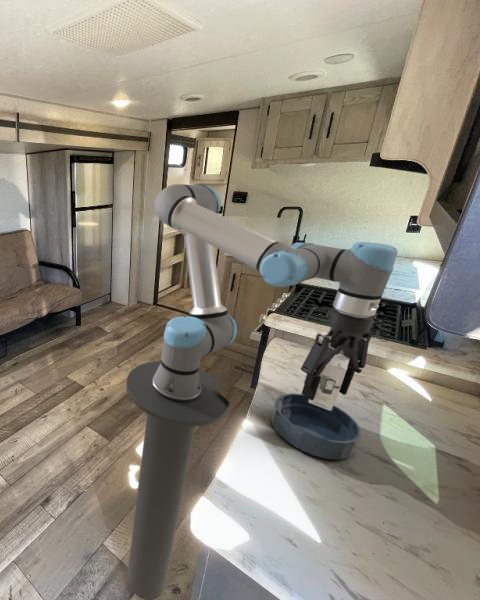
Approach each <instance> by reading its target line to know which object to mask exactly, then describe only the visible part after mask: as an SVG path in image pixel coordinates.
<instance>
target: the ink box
mask: <svg viewBox="0 0 480 600" xmlns="http://www.w3.org/2000/svg"><path fill="white" fill-rule="evenodd" d="M349 360H350V358H348V357H346V356H344V355H343V354H341V353H339V354H338V355H335V356H334V357H333V358H332V359H331V361H330V362H329V363H328V364H327V365H326V366H325V368H324V370H323V371H322V372H321V373H320V375H319V376H320V377H321V379H320V382H319V385H318V388H317V391H316V394H315V397H314V400H310V399H309V403H311V404H314V405H316V406H319V407H322V408H324V409H327V410H329V411H332V408H333V406H335V403H336V401H337V398H338V395H339V393H340V392H339V390H340V387H341V385H342V382H343V379H344V376H345V373H346V370H347V367H348V363H349Z"/></svg>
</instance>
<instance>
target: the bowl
mask: <svg viewBox="0 0 480 600" xmlns="http://www.w3.org/2000/svg"><path fill="white" fill-rule="evenodd" d="M270 421H271V422H270V423H271V426H272V427H273V428H274V430H275V432H276V433H277V434H278V435H279V436H280V437H281V438H283V439H284V440H285V441H286V442H287V443H289V444H290V445H292V446H293V447H295V448H296V449H298V450H301V451H302V452H304V453H307V454H309V455H311V456H315V457H318V458H322V459H325V460H335V461H340V460H345V459H348V458H350V457H351V456H352V455H353V454H354V453H355V450H356V448H357V445H358V444H359V441H360V440H361V436H362V435H361V434H362V429H361V428H360V426H359V424H358V422H357V421H356V420H355V419H354V418H353V417H352V416H351V415H350V414H348V413H347V412H346V411H344V410H343V409H341V408H340V407H339V406H336V405H334V406H333V408H332V411H329V410H327V409H324V408H322V407H319V406H316V405H314V404H311V403H309V398H307V397H306V396H304V395H303V394H302V393H292V392H291V393H286V394H285V393H284V394H281V395H280V396H278V397H277V398H276V400H275V402H274V405H273V409H272V412H271V415H270Z"/></svg>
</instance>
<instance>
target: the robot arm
mask: <svg viewBox="0 0 480 600" xmlns="http://www.w3.org/2000/svg"><path fill="white" fill-rule="evenodd" d="M221 208H222V200H221V197H220V194H219V193H218V191H217V190H216V189H215V188H213V187H212V186H210V185H207V184H203V183H202V184H201V183H196V184H181V183H176V184H170V185H168V186H166V187H165V188H163V189H161V191H160V192H159V193H158V195H157V197H156V199H155V202H154V210H155V214H156V216H157V218H158V219H159V220H160V221H161V222H162V224H164V225H166V226H168V227H170V228H172V229H173V230H175V231H178V232H179V233H180V234H181V235H182V236H183V240H184V248H185V255H186V262H187V269H188V270H187V271H188V278H189V285H190V292H191V298H192V299H191V300H192V308H191V310H190V311H189V313H188V314H189V316H188V315H186V316H183V315H182V316H181V315H180V316H176V317H173V318H171V319H169V320H168V321H167V323H166V325H165V329H164V332H163V342H162V349H161V357H160V358H161V359H160V361H161V364H160V366H159V367H158V369H157V371H156V373H155V375H154V377H153V382H152V385H153V388H154V390H155V391H156V392H157V393H158V394H159V395H161V396H162V397H164V398H166V399H168V400H171V401H175V402H191V401H194V400H196V399H198V398H199V397H200V394H201V389H202V388H201V382H200V377H199V369H200V366H201V359H202V357H205V356H207V355H210V354H212V353H214V352H217V351H219V350H223V349H225V348H227V346H229V345H231V344H232V343H233V342H234V341H235V339H236V337H237V334H238V327H237V323H236V321H235V319H234V318H233V317H232V315H230V314H229V313H228V308H227V307H226V306H224V305H223V304H222V300H221V293H220V284H219V276H218V268H217V261H216V253H215V248H216V249H218V250H220V251H221V252H223V253H225V254H226V255H228V256H230V257H233V258H234V259H235V260H238V261H240V262H242V263H243V264H245V265H247V266H249V267H251V268H253V269H254V270H256V271H258V272H259V273H260V276H261V278H262V279H263V281H264V282H265V283H266V284H268V285H270V286H273V287H277V288H283V287H290V286H295V285H297V284H299V283H301V282H305V281H308V280H312V279H314V278H317V279H321V280H326V281H330V282H334V283H339V286H338V288H337V292H336V295H335V297H334V300H333V304H332V307H333V308H332V309H331V310H330V314H329V316H328V318H327V319H328V320H327V323H328V325H329V326H330V329H329V331H328V332H327V334H321V333H317V334H316V336H315V339H314V343H313V345H312V347H311V348H310V350H309V353H308V354H307V355H306V358H305V359H304V361H303V363H302V365H301V367H300V370H301V371H302V372H303V373H305V374H306V376H305V379H304V382H303V384H304V385H303V386H302V387H303V388H302V391H301V394H303V395H304V396H306V397H307V398H309V399H310V400H314V397H315V394H316V391H317V388H318V385H319V382H320V379H321V377H320V376H319V375H320V373H321V372H322V371H323V370H324V368H325V366H326V365H327V364H328V363H329V362H330V361H331V359H332V358H333V357H334V356H335V355H338V354H341V352H342V355H344V356H346V357H348V358H350V360H349V363H348V367H347V370H346V373H345V376H344V379H343V382H342V385H341V387H340V390H339V393H340V394H342V395H343V396H344V395H345V396H346V395H347V393H348V391H349V388H350V386H351V384H352V380H353V378H354V376H355V373H357V374H361V373H362V371H363V369H364V368H365V367H366V363H367V356H368V350H369V345H370V341H371V339H372V337H373V334H372V333H371V332H370V329H371V327H372V325H373V321H374V318H373V316H375V315H376V313H377V310H378V309H379V307H380V305H379V304H380V302H381V300H382V298H383V294H384V292H385V289H386V287H387V285H388V283H389V280H390V277H391V276H392V272H393V271H394V267H395V263H396V259H397V256H398V249H397V248H396V247H394V246H393V245H391V244H385V243H380V242H379V243H378V242H371V241H357V242H355V243H353V244H352V246H351V248H350V249H348V248H347V249H346V248H339V247H334V246H333V247H332V246H328V245H327V246H326V245H320V244H315V243H311V242H294V243H293V244H292V245H291V246H288V245H286V244H284V243H282V242H279V241H278V240H275V239H273V238H271V237H269V236H267V235H265V234H262V233H260V232H258V231H256V230H254V229H252V228H249V227H247V226H246V225H243V224H241V223H239V222H237V221H235V220H232V219H230V218H228V217H225V216H223V215H221V214H219V212H220V211H221Z"/></svg>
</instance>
